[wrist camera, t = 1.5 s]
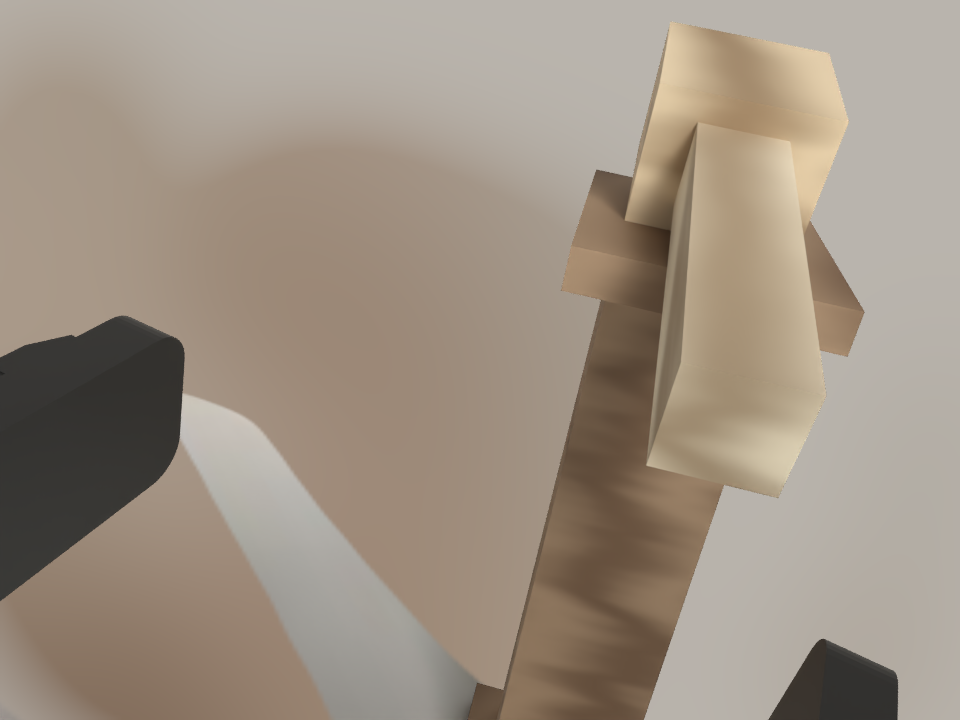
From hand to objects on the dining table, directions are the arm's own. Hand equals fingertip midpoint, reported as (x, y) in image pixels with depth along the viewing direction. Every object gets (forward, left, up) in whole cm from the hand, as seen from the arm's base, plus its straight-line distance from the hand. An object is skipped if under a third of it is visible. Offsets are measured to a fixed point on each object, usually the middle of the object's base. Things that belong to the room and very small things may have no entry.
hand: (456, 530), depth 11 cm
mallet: (-5, -20, -3) cm, 21 cm away
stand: (-5, -25, -33) cm, 41 cm away
